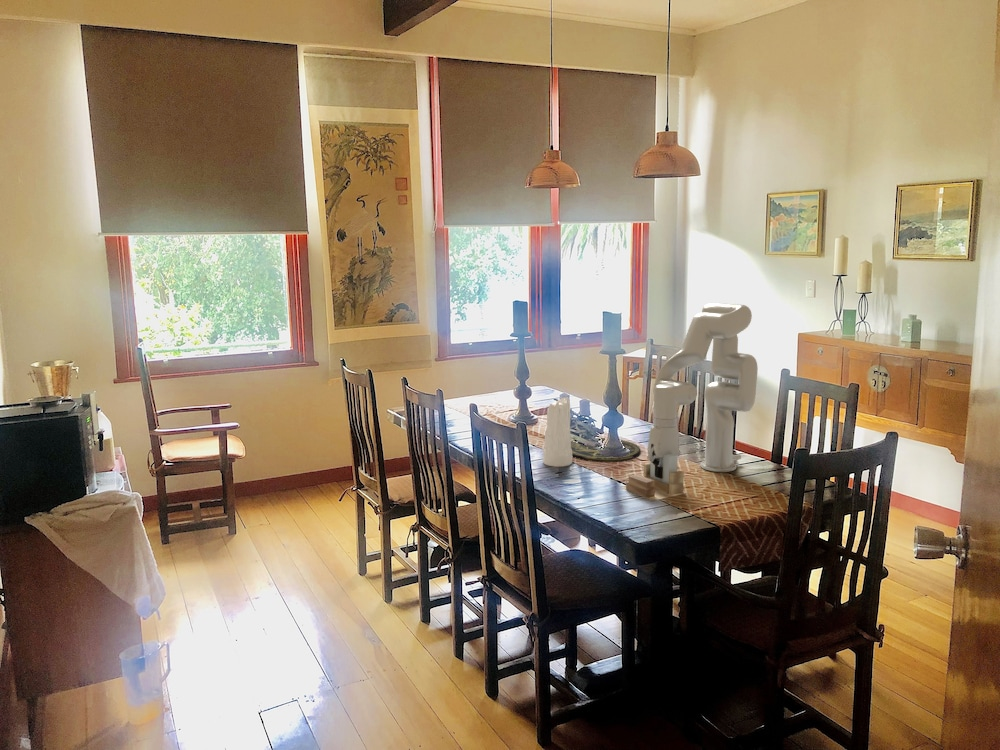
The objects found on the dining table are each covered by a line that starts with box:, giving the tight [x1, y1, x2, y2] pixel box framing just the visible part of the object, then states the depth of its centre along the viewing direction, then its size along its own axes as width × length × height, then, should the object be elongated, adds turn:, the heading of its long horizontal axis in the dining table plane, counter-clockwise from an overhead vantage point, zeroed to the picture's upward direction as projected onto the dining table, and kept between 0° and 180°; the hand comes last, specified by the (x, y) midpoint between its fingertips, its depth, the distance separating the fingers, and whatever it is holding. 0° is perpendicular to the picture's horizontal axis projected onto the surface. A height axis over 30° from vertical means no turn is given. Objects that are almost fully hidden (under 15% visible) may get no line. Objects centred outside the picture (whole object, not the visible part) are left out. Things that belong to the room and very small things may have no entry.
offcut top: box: [628, 474, 654, 490], centre depth 252 cm, size 4×8×2 cm, turn 34°
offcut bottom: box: [625, 481, 655, 499], centre depth 253 cm, size 4×10×2 cm, turn 30°
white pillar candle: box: [542, 396, 573, 468], centre depth 290 cm, size 11×11×25 cm
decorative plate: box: [571, 437, 642, 463], centre depth 307 cm, size 30×2×30 cm
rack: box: [620, 461, 688, 502], centre depth 255 cm, size 15×16×8 cm
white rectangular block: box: [650, 453, 679, 484], centre depth 257 cm, size 4×9×12 cm, turn 30°
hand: (663, 476), depth 257 cm, fingers closed on white rectangular block, 3 cm apart
